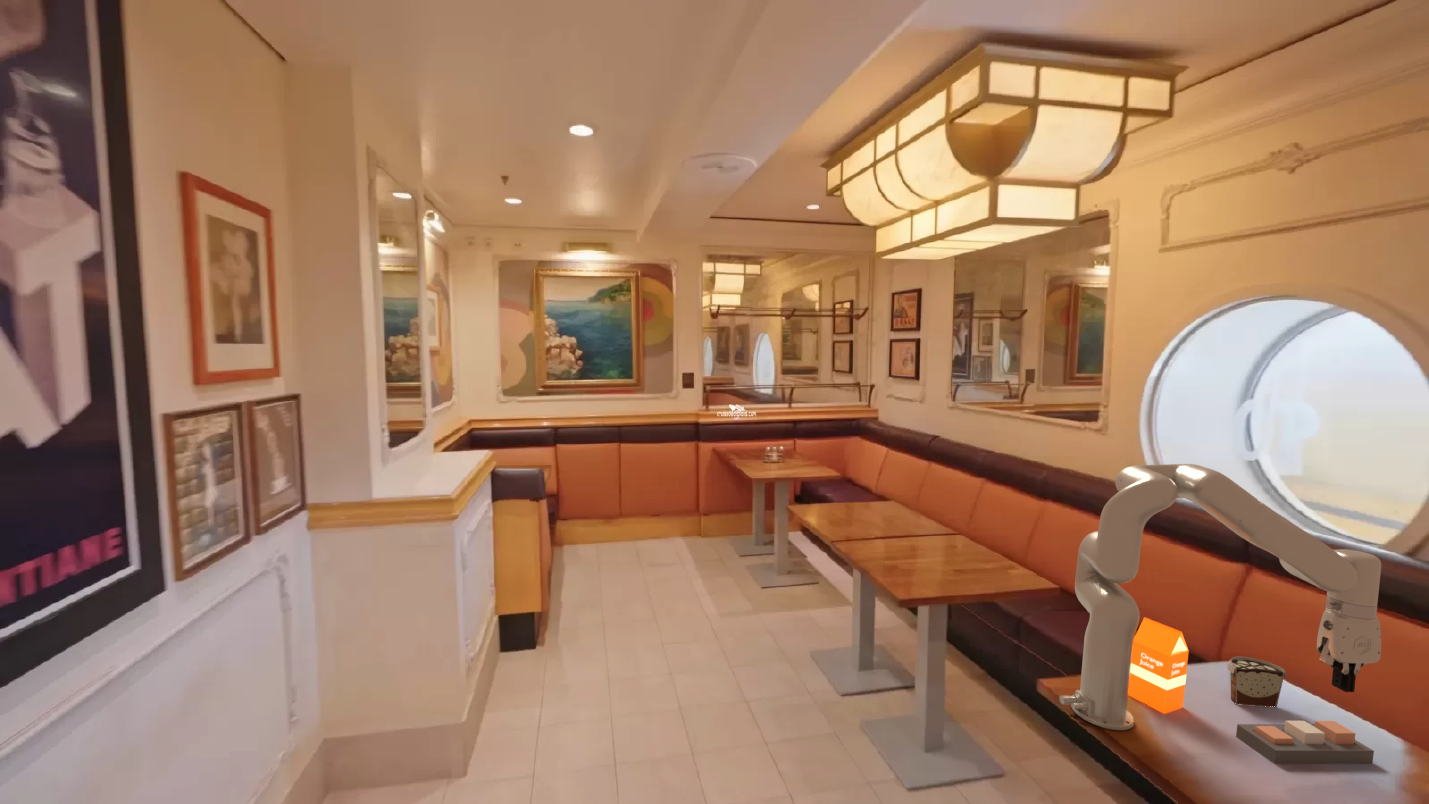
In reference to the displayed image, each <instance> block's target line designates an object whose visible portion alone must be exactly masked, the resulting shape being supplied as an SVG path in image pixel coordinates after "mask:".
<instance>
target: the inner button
mask: <svg viewBox="0 0 1429 804" xmlns="http://www.w3.org/2000/svg"><path fill="white" fill-rule="evenodd" d="M1254 732H1256V733H1257V734H1259V735H1260V736H1262V737H1263V738H1265V739H1266V740H1268V741H1269V742H1271V743H1272V744H1293V738H1292V737H1290V736H1289V735H1287V734H1285V733H1284V732H1282V731H1281V730H1279V729H1278V728H1276V727H1275V726H1255V730H1254Z"/></svg>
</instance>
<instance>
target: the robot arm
mask: <svg viewBox="0 0 1429 804" xmlns="http://www.w3.org/2000/svg"><path fill="white" fill-rule="evenodd" d="M1115 488H1116V489H1117V491H1118V492H1116V493H1115V494H1114V495H1112V496H1111V497H1110V499H1109V500H1108V501H1107V502H1106V503H1105V505H1104V506H1103V508H1102V511H1101V513H1100V517H1099V524H1098V528H1097V529H1098V530H1095V531H1092V532H1090V533H1088V534H1087V535H1086V536H1085V537H1084V538H1083V539H1082V541H1081V542H1080V544H1079V547H1078V550H1077V551H1078V553H1077V558H1076V559H1077V561H1076V569H1075V583H1074V591H1075V595H1076V598H1077V599H1078V601H1079V603H1080V604H1081V605H1082V606H1083V607H1084V608H1085V610H1086V611H1087V613H1089V620H1088V623H1087V625H1086V626H1087V627H1086V629H1085V633H1084V641H1083V652H1082V661H1081V662H1082V665H1081V672H1080V673H1081V675H1080V686H1079V689H1075V692H1074V694H1073V693H1072V695H1059V703H1060V704H1062V705H1070V707H1071V708H1072V710H1073V712H1074V713H1075V714H1076V715H1077V716H1078V717H1080V718H1081V719H1083V720H1084V721H1086V722H1088V723H1091V724H1092V725H1095V726H1098V727H1101V728H1103V729H1107V730H1111V731H1112V730H1114V731H1127V730H1129V729H1131V728H1133V727H1134V722H1135V719H1134V716H1133V715H1132V713H1131V712H1130V711H1129V710H1127V709H1128V701H1129V700H1128V698H1129V695H1128V691H1129V680H1130V670H1131V659H1132V658H1131V657H1132V648H1133V641H1134V637H1135V635H1136V633H1137V629H1138V626H1139V624H1140V618H1141V617H1140V610H1139V606H1138V605H1137V602H1136V601H1135V599H1134V598H1133V596H1131V595H1130V593H1128V592H1127V591H1126V590H1125V589H1124V588H1123V587H1122V586H1121V585H1119V584H1127V583H1130V582H1131V581H1133V580H1134V579H1135V578H1136V576H1137V574H1138V572H1139V566H1140V557H1141V549H1142V548H1141V547H1142V538H1143V534H1144V528H1145V526H1146V524H1147V523H1148V521H1149V520H1150V519H1151V518H1152V517H1153V516H1155V515H1156V514H1158V513H1159V512H1161V511H1164V510H1167V509H1168V508H1169V507H1171V506H1172V505H1173V504H1174V503H1175V502H1176V501H1177V499H1185V500H1188V501H1190V502H1192V503H1193V504H1195V505H1197V506H1199V507H1200V508H1201V509H1202V510H1204V511H1205V512H1206V513H1208V514H1209V515H1211V517H1213V518H1214V519H1216V520H1217V521H1219V522H1220V523H1222V525H1224V526H1225V527H1226V528H1228V529H1229V530H1231V531H1232V532H1233V533H1235V535H1237V536H1238V537H1240V538H1241V539H1243V540H1245V541H1247V542H1249V543H1250V544H1252V545H1254V546H1256V547H1257V548H1260V549H1261V550H1263V551H1266V552H1267V553H1269V554H1271V555H1273V556H1275V557H1277V558H1278V559H1279V563H1280V565H1281V566H1282V568H1283V569H1284V570H1285V571H1286V572H1288V573H1289V574H1290V575H1292V576H1294V577H1297V578H1299V579H1300V580H1303V581H1305V582H1307V583H1309V584H1311V585H1313V586H1315V587H1317V588H1319V589H1321V590H1323V591H1326V600H1325V601H1326V602H1325V603H1324V606H1325V610H1324V611H1323V613H1322V616H1321V619H1320V623H1319V627H1318V633H1317V640H1316V649H1317V653H1320V656H1319V658H1318V659H1319V661H1320V662H1322V663H1324V664H1326V665H1329V666H1330V668H1331V669H1332V675H1331V676H1332V678H1331V685H1332V686H1333V687H1335V688H1337V689H1338V690H1341V691H1343V692H1345V693H1354V692H1355V686H1356V677H1357V675H1358V674H1359V673H1360V670H1361V668H1362V667H1363V666H1366V665H1369V664H1375V663H1377V662H1379V661H1380V660H1381V656H1382V655H1381V652H1382V630H1381V629H1382V628H1381V624H1380V623H1381V622H1380V620H1379V617H1377V611H1378V601H1379V591H1380V581H1381V572H1382V562H1381V560H1380V558H1379V557H1377V556H1376V555H1374V554H1371V553H1368V552H1365V551H1359V550H1356V549H1354V550H1353V549H1346V548H1341V549H1333V548H1331V547H1330V546H1329V545H1327V544H1325V543H1324V542H1323V541H1321V539H1318V538H1316V537H1315V536H1313V535H1312V534H1310V533H1309V532H1307V531H1305V530H1304V529H1303V528H1301V527H1300V526H1298V525H1296V524H1295V523H1293V522H1292V521H1290V520H1289V519H1288V518H1286V517H1284V516H1283V515H1281V514H1280V513H1278V512H1276V511H1275V510H1273V509H1272V508H1271V507H1270V506H1268V505H1266V504H1265V503H1263V501H1261V500H1260V499H1258V498H1256V497H1255V496H1253V495H1252V494H1251V492H1249V491H1247V490H1246V489H1245V488H1243V487H1242V486H1240V485H1239V484H1238V483H1236V482H1235V481H1234V480H1232V479H1231V478H1229V477H1227V476H1226V475H1224V473H1221V472H1219V471H1218V470H1215V469H1212V468H1209V467H1205V466H1202V465H1199V464H1198V465H1197V464H1193V463H1190V464H1189V463H1176V464H1175V463H1174V464H1173V463H1170V464H1139V465H1136V464H1135V465H1131V466H1127V467H1125V468H1123V469H1121V470H1120V471H1119V472H1118V473H1117V475H1116V477H1115Z"/></svg>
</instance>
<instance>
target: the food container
mask: <svg viewBox="0 0 1429 804" xmlns="http://www.w3.org/2000/svg"><path fill="white" fill-rule="evenodd" d="M1226 666H1227V667H1226V668H1227V670H1228V671H1229V672H1230V700H1231V701H1232V703H1233V702H1234V703H1233V704H1235V703H1236V704H1242V705H1241V706H1246V705H1252V706H1251V707H1258V706H1262V707H1261V708H1270V706H1271V707H1272V706H1273V707H1274V706H1275V707H1278V703H1279V699H1280V694H1281V690H1282V686H1283V682H1284V679H1287V672H1286V669H1284V668H1282V666H1281V667H1280V666H1279V665H1276V664H1274V663H1271V662H1269V661H1266V660H1262V659H1258V658H1256V657H1255V658H1254V657H1248V656H1234V657H1233V656H1232V658H1230V660H1229V661H1228V664H1227V665H1226ZM1236 704H1235V705H1236ZM1253 705H1254V706H1253ZM1265 706H1266V707H1265Z"/></svg>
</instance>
